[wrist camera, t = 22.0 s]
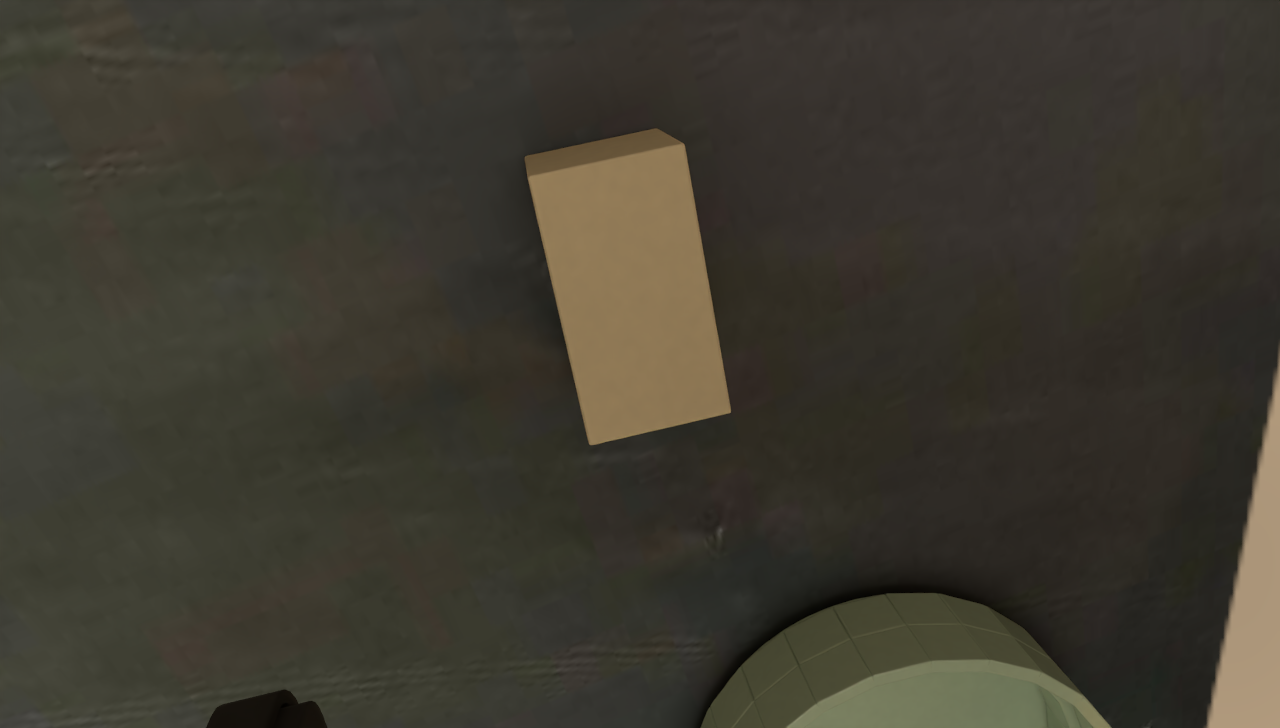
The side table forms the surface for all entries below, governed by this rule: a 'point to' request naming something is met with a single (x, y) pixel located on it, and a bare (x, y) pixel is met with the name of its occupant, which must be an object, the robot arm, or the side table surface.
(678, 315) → the tan rectangular block
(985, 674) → the bowl
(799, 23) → the side table surface
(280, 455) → the side table surface
